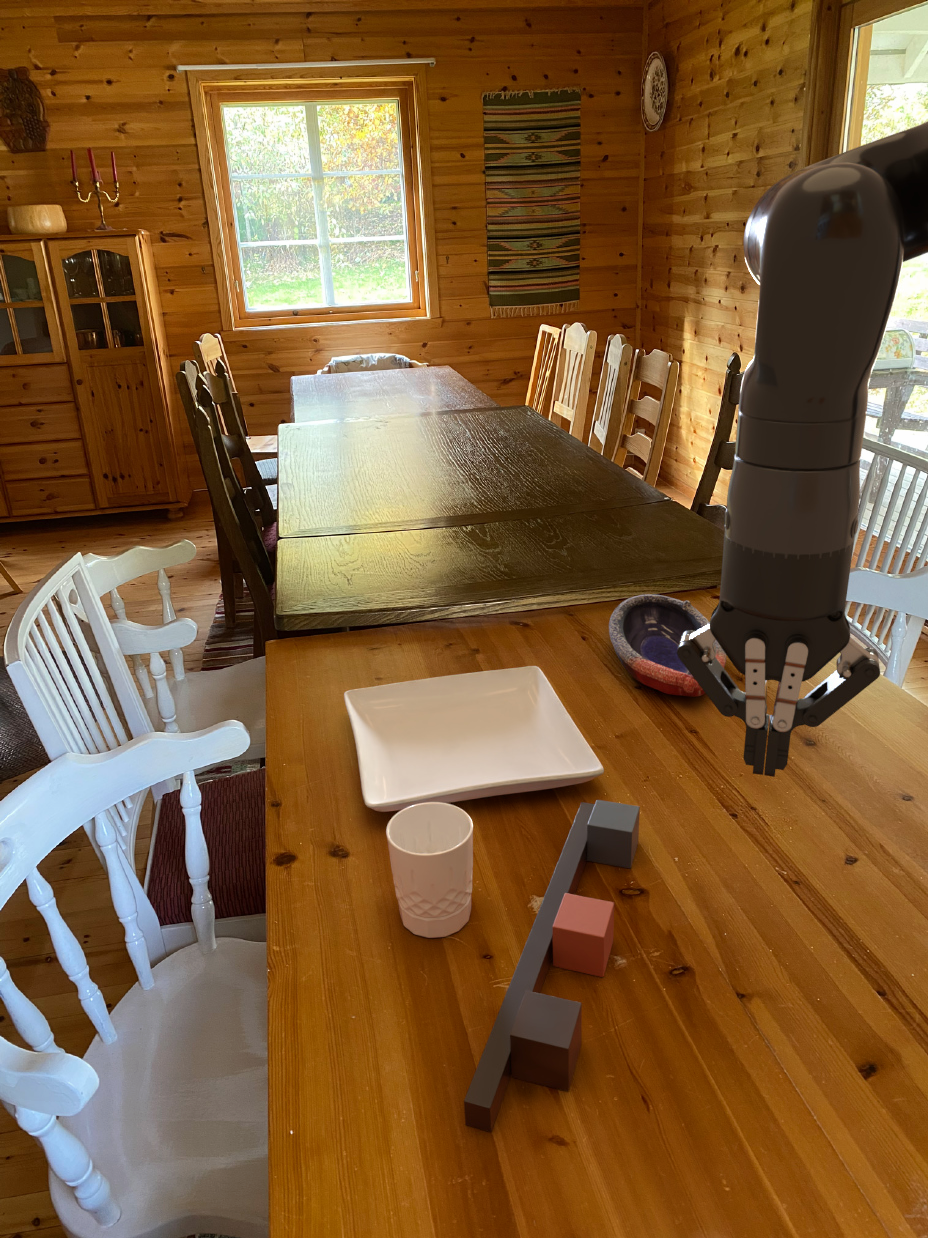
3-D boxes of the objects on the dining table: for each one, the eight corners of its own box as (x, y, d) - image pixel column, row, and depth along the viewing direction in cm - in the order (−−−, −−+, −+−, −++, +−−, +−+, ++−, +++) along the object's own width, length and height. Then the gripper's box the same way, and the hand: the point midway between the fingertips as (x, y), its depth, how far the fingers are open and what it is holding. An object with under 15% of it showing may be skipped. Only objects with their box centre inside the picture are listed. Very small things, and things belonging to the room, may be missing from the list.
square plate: (368, 834, 99) (364, 805, 97) (345, 713, 123) (342, 687, 122) (606, 795, 103) (607, 766, 102) (538, 685, 128) (538, 660, 126)
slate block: (638, 842, 96) (639, 806, 94) (630, 869, 92) (632, 832, 90) (595, 834, 97) (596, 799, 95) (586, 861, 93) (587, 824, 91)
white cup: (428, 875, 92) (421, 792, 88) (493, 904, 88) (489, 818, 84) (377, 922, 86) (368, 836, 82) (444, 956, 82) (438, 866, 78)
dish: (695, 616, 147) (697, 587, 145) (744, 711, 119) (748, 677, 117) (598, 619, 148) (599, 590, 146) (625, 714, 120) (626, 680, 118)
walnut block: (581, 1045, 73) (581, 1002, 71) (568, 1092, 69) (568, 1049, 67) (526, 1031, 74) (525, 990, 72) (511, 1077, 70) (509, 1034, 68)
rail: (599, 824, 99) (599, 804, 98) (491, 1132, 66) (490, 1108, 65) (581, 821, 99) (581, 801, 98) (465, 1125, 67) (463, 1101, 66)
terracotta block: (613, 941, 83) (614, 902, 81) (603, 978, 79) (604, 937, 77) (564, 931, 84) (564, 892, 82) (552, 966, 80) (552, 926, 79)
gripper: (902, 517, 57) (865, 754, 64) (686, 505, 61) (673, 729, 68) (913, 557, 50) (871, 817, 57) (670, 541, 55) (658, 784, 62)
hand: (763, 769), depth 63 cm, fingers closed
